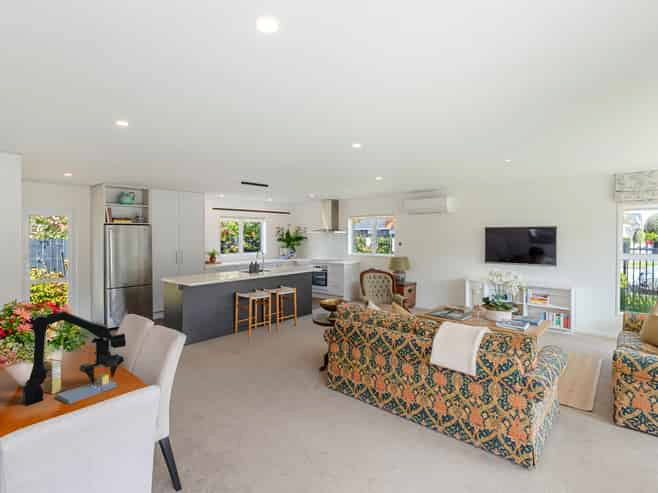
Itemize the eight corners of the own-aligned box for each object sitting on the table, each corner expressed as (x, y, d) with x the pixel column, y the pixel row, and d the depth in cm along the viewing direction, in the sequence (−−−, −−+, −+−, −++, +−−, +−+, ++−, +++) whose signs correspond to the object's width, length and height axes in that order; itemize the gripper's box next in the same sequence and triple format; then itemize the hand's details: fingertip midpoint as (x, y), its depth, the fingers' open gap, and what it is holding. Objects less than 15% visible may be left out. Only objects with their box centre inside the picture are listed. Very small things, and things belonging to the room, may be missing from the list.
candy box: (41, 391, 173) (41, 360, 173) (51, 388, 177) (51, 358, 177) (52, 394, 170) (51, 363, 169) (61, 390, 173) (61, 360, 173)
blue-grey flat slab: (68, 404, 159) (68, 399, 159) (56, 398, 165) (56, 393, 165) (101, 392, 171) (101, 388, 171) (88, 387, 177) (88, 383, 177)
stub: (102, 391, 171) (101, 379, 171) (89, 387, 177) (89, 375, 177) (116, 386, 177) (116, 375, 177) (103, 382, 183) (103, 370, 183)
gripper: (90, 357, 165) (91, 390, 165) (129, 347, 181) (130, 377, 181) (78, 354, 171) (79, 385, 171) (117, 344, 187) (118, 373, 187)
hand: (102, 380), depth 177 cm, fingers open, 9 cm apart
